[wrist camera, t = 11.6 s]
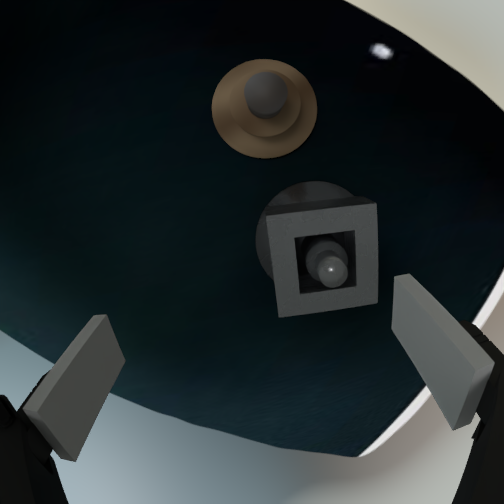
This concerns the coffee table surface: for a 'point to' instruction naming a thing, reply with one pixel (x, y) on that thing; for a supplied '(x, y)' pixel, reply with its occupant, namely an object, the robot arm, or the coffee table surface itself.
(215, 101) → the stand
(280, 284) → the collar
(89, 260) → the coffee table surface
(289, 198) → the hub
